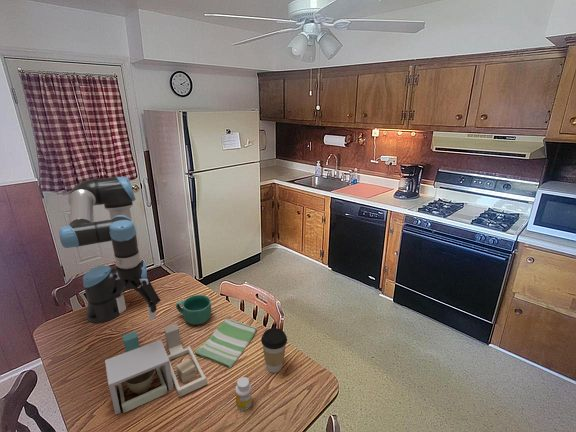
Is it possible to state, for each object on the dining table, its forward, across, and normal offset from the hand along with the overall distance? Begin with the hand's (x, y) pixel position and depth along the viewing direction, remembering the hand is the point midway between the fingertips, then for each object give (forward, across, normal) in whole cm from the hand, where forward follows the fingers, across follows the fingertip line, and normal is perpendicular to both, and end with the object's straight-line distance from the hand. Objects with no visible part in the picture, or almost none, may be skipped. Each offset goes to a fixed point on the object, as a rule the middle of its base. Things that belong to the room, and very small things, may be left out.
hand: (137, 314), depth 116 cm
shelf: (+22, +8, -11) cm, 26 cm away
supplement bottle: (+22, +45, -5) cm, 50 cm away
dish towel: (+23, +26, +20) cm, 40 cm away
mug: (+23, +4, +29) cm, 37 cm away
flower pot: (+23, +7, -10) cm, 26 cm away
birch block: (+22, +19, -1) cm, 30 cm away
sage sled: (+22, +2, -6) cm, 23 cm away
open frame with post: (+22, +15, +3) cm, 27 cm away
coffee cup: (+22, +49, +13) cm, 56 cm away
